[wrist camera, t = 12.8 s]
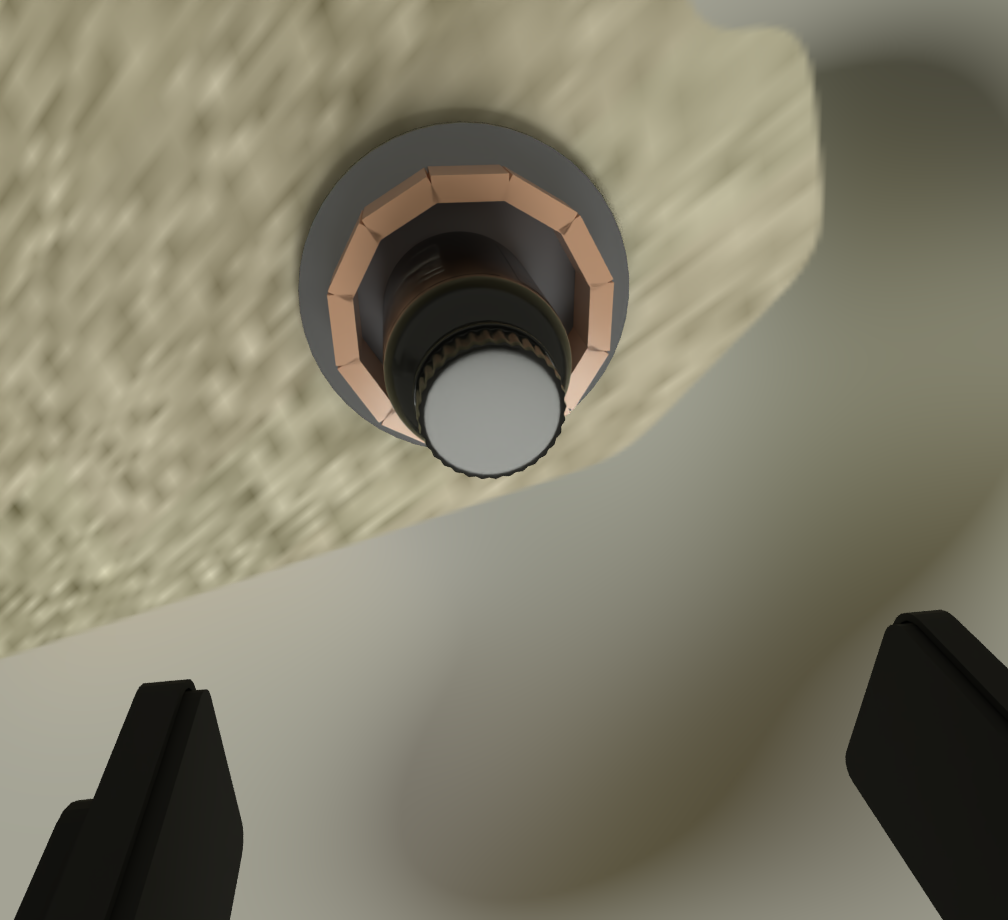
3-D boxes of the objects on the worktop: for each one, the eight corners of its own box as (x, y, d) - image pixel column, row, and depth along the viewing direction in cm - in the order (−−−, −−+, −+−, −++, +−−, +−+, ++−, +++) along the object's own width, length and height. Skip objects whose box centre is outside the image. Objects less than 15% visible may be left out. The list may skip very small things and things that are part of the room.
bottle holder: (323, 449, 37) (315, 491, 34) (277, 125, 30) (260, 132, 26) (612, 430, 39) (635, 468, 35) (633, 117, 32) (664, 124, 28)
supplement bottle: (404, 389, 35) (408, 527, 24) (365, 246, 32) (350, 334, 21) (544, 358, 35) (608, 481, 25) (520, 212, 32) (582, 283, 21)
